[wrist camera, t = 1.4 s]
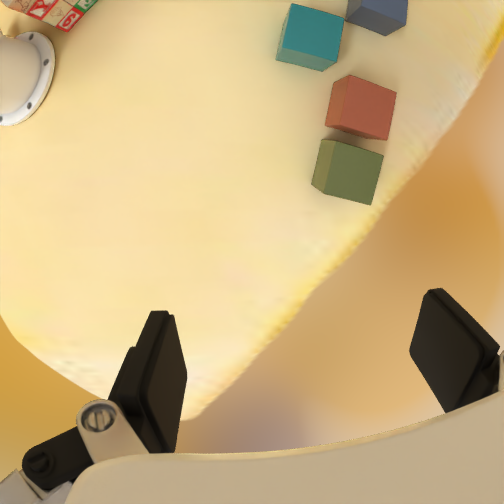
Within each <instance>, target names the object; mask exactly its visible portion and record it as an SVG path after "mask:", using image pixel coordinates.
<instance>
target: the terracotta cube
mask: <svg viewBox="0 0 504 504" xmlns="http://www.w3.org/2000/svg"><path fill="white" fill-rule="evenodd" d="M396 94H397V93H396V92H394V91H392V90H389V89H387V88H384V87H382V86H379V85H377V84H374V83H371V82H369V81H366V80H363V79H360V78H358V77H355V76H352V75H348V76H346V77H344V78H342V79H340V80H338V81H336V82H334V84H333V89H332V94H331V98H330V103H329V108H328V113H327V118H326V122H325V126H327V127H331V128H334V129H338V130H341V131H344V132H348V133H351V134H354V135H357V136H361V137H364V138H367V139H377V140H387V139H388V135H389V130H390V125H391V120H392V115H393V110H394V105H395V99H396Z"/></svg>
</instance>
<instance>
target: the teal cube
mask: <svg viewBox="0 0 504 504" xmlns="http://www.w3.org/2000/svg"><path fill="white" fill-rule="evenodd" d="M343 24H344V18H342V17H339V16H336V15H333V14H329V13H326V12H323V11H319V10H316V9H312V8H309V7H305V6H301V5H297V4H293V3H292V4H291V6H290V8H289V11H288V13H287V16H286V18H285V20H284V24H283V29H282V33H281V37H280V42H279V46H278V51H277V56H276V60H278V61H282V62H287V63H291V64H295V65H299V66H303V67H307V68H311V69H314V70H318V71H321V72H323V71H324V70H326V69H327V68H328V67H330V66H331V65H333V64H334V63H336V62H337V57H338V52H339V46H340V41H341V35H342V30H343Z"/></svg>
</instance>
